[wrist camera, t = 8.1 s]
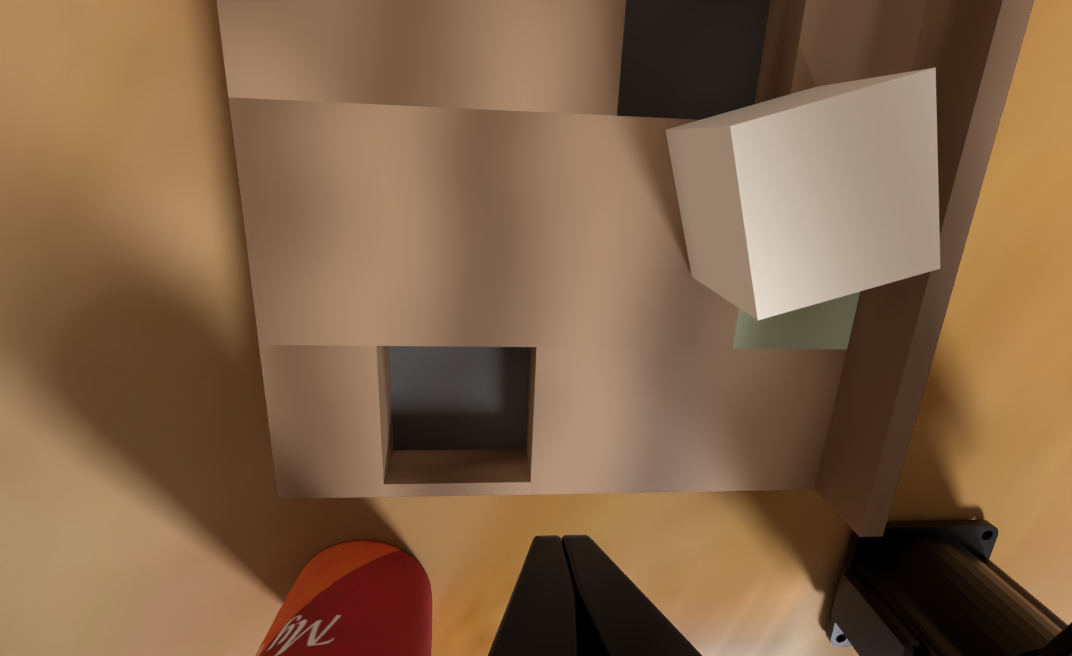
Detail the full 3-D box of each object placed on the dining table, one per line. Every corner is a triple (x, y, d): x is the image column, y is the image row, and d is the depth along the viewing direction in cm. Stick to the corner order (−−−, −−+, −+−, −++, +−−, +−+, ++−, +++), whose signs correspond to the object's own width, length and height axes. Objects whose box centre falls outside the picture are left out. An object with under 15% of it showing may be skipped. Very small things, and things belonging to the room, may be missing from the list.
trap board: (911, -58, 17) (1071, -132, 13) (800, 454, 23) (882, 536, 18) (239, -112, 15) (130, -224, 11) (300, 460, 21) (246, 552, 16)
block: (816, 86, 16) (935, 67, 12) (830, 237, 18) (940, 268, 13) (665, 129, 16) (730, 126, 12) (691, 276, 18) (757, 320, 13)
